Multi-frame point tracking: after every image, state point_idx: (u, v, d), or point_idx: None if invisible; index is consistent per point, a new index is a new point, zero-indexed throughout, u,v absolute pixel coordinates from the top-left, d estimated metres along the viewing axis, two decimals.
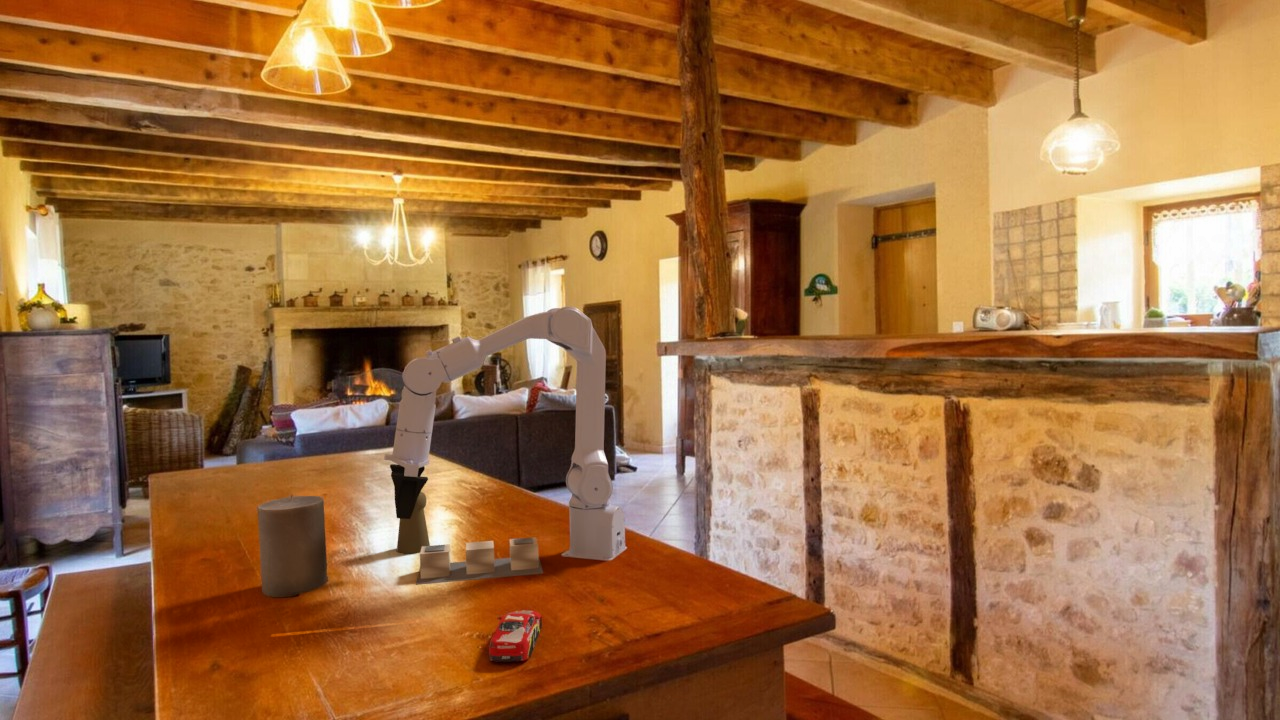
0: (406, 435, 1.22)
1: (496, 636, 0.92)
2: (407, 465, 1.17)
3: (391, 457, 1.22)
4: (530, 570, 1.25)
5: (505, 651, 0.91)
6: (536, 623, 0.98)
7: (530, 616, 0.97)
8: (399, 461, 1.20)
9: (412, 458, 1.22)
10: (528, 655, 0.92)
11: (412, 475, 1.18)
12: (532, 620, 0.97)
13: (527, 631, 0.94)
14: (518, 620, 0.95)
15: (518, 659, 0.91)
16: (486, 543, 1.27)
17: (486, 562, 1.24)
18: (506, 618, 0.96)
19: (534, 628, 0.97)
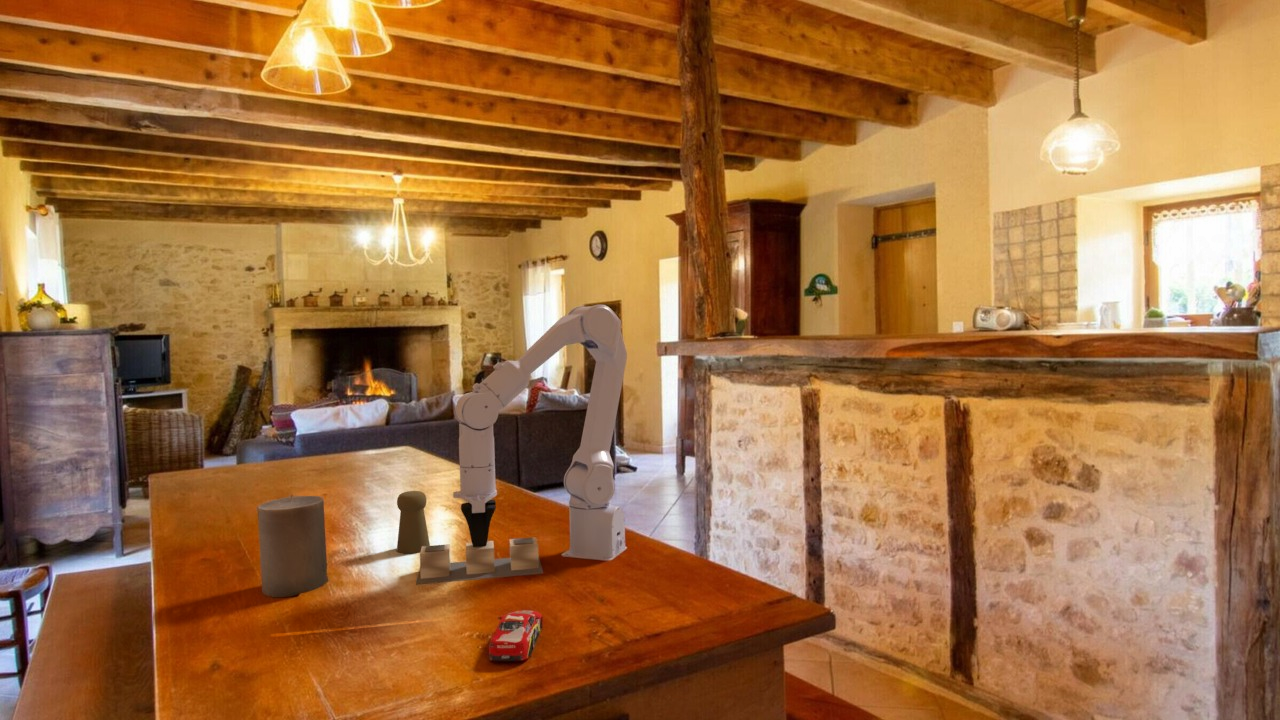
0: (470, 471, 1.23)
1: (496, 636, 0.92)
2: (473, 502, 1.19)
3: (459, 494, 1.24)
4: (530, 570, 1.25)
5: (505, 650, 0.91)
6: (536, 623, 0.98)
7: (530, 616, 0.97)
8: (466, 498, 1.22)
9: (479, 493, 1.23)
10: (528, 655, 0.92)
11: (480, 511, 1.19)
12: (532, 620, 0.97)
13: (527, 631, 0.94)
14: (518, 620, 0.95)
15: (518, 659, 0.91)
16: None
17: (486, 562, 1.24)
18: (506, 618, 0.96)
19: (534, 628, 0.97)
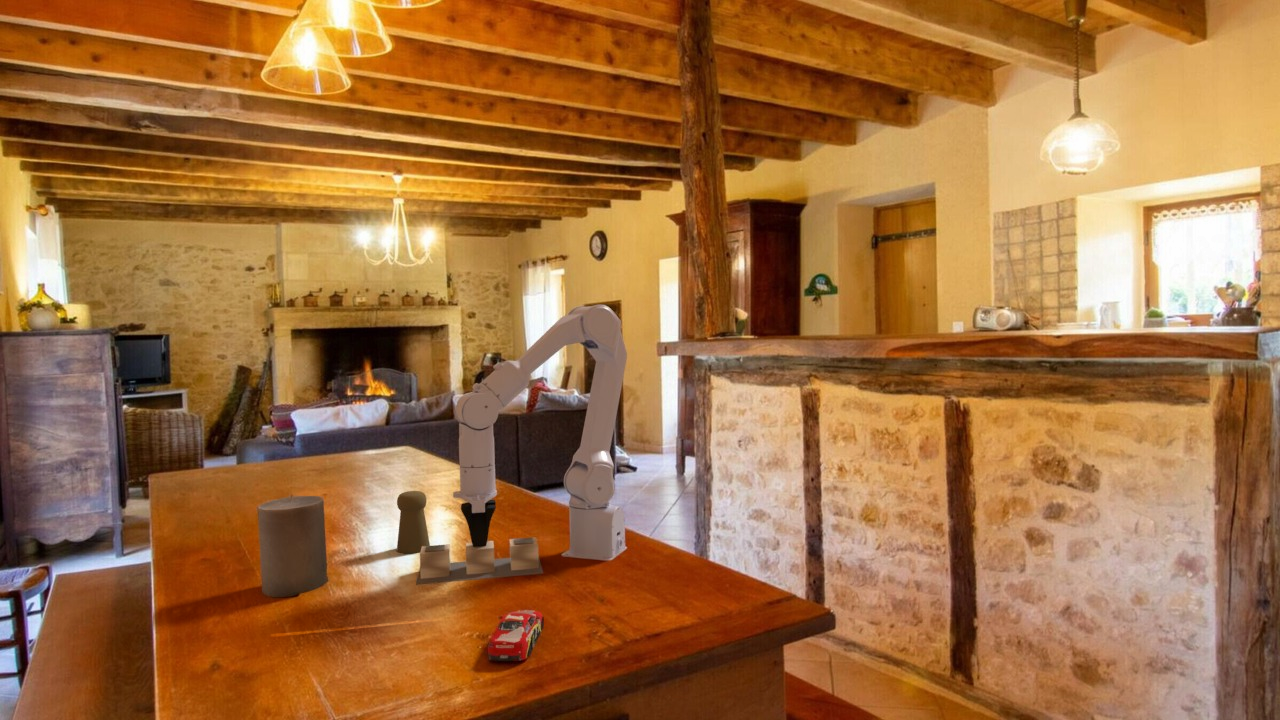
0: (470, 471, 1.23)
1: (495, 635, 0.93)
2: (473, 502, 1.19)
3: (459, 494, 1.24)
4: (530, 570, 1.25)
5: (504, 650, 0.91)
6: (537, 623, 0.98)
7: (531, 616, 0.97)
8: (466, 498, 1.22)
9: (479, 493, 1.23)
10: (527, 655, 0.92)
11: (480, 511, 1.19)
12: (532, 620, 0.97)
13: (526, 631, 0.94)
14: (518, 620, 0.95)
15: (516, 659, 0.91)
16: None
17: (486, 562, 1.24)
18: (506, 618, 0.96)
19: (534, 628, 0.97)
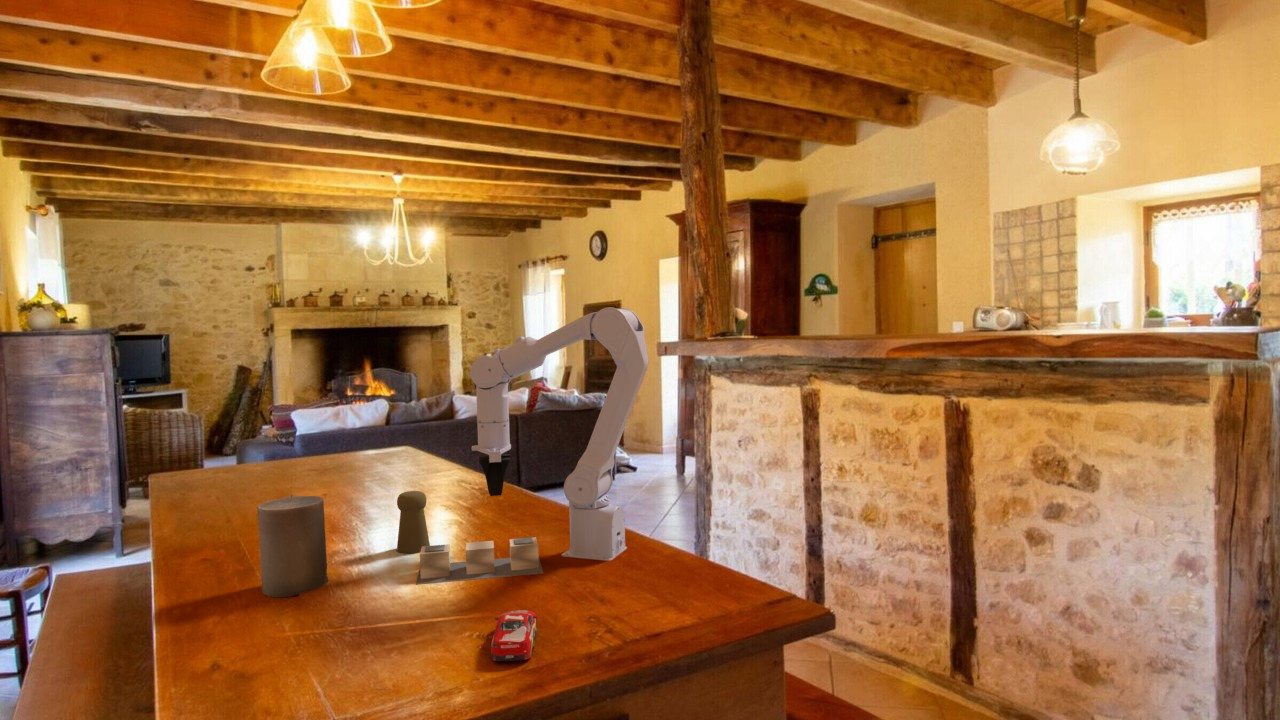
0: (486, 426, 1.36)
1: (498, 636, 0.92)
2: (490, 452, 1.32)
3: (477, 447, 1.37)
4: (530, 570, 1.25)
5: (509, 650, 0.91)
6: (534, 622, 0.99)
7: (529, 615, 0.98)
8: (484, 450, 1.35)
9: (495, 446, 1.36)
10: (531, 654, 0.92)
11: (496, 461, 1.32)
12: (530, 619, 0.98)
13: (528, 630, 0.94)
14: (518, 619, 0.95)
15: (522, 658, 0.91)
16: (486, 543, 1.27)
17: (486, 562, 1.24)
18: (505, 618, 0.96)
19: (533, 627, 0.97)
